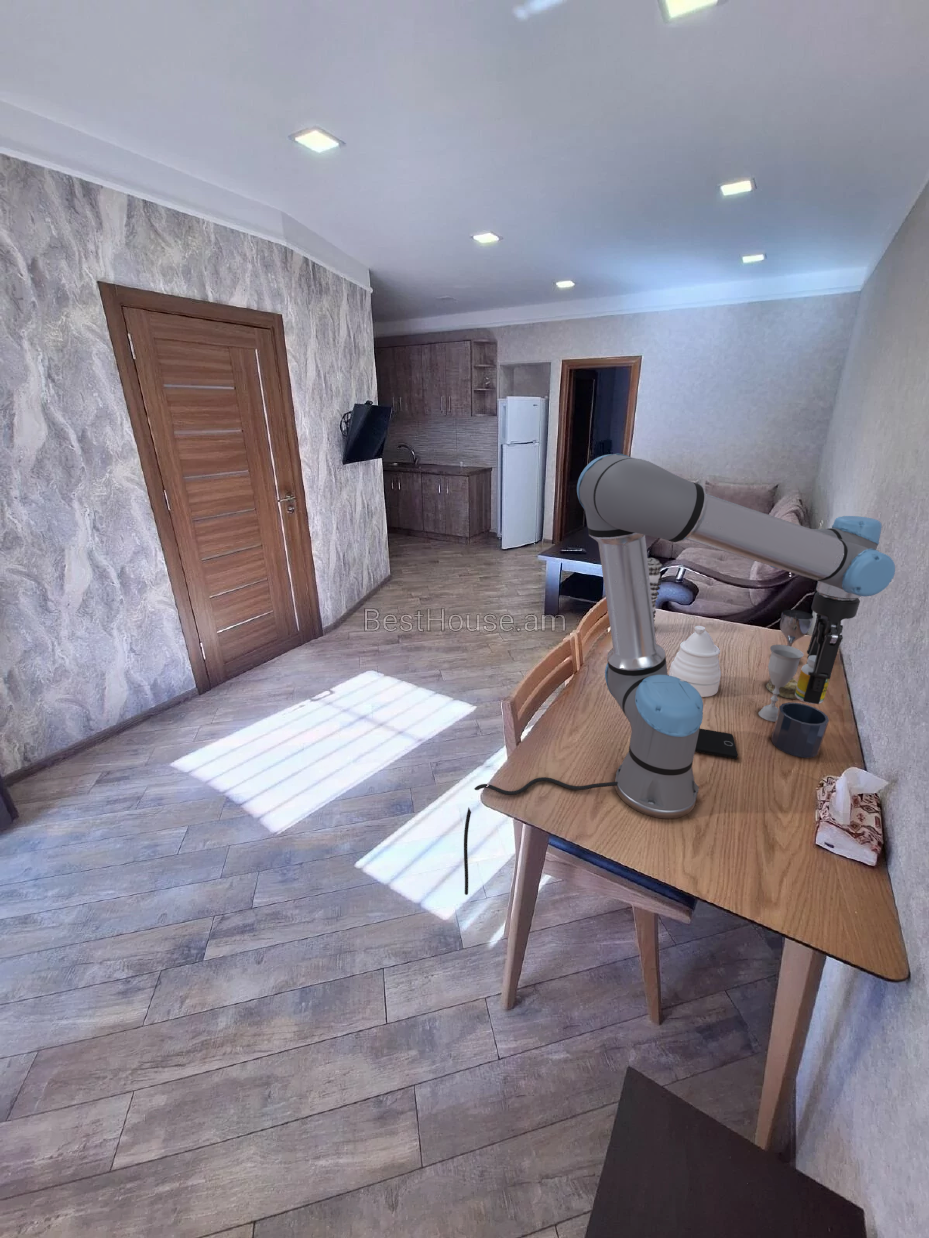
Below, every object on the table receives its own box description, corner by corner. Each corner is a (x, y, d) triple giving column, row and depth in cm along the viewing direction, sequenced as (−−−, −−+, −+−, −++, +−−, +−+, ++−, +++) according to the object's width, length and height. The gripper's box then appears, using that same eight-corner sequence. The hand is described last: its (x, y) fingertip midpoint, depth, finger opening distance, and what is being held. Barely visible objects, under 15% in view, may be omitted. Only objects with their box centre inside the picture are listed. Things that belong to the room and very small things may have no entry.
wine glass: (801, 657, 155) (813, 612, 149) (800, 667, 149) (813, 621, 143) (771, 651, 159) (782, 607, 153) (770, 661, 153) (781, 616, 147)
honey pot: (704, 702, 132) (717, 639, 125) (659, 684, 141) (668, 625, 134) (725, 685, 139) (738, 626, 133) (681, 669, 148) (691, 613, 142)
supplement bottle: (806, 690, 113) (816, 651, 109) (829, 702, 108) (841, 662, 104) (788, 694, 111) (798, 655, 107) (811, 706, 106) (822, 666, 103)
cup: (797, 761, 109) (807, 728, 106) (761, 737, 117) (769, 706, 114) (828, 752, 112) (838, 720, 108) (791, 730, 120) (800, 699, 116)
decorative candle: (636, 620, 184) (644, 554, 174) (659, 628, 177) (669, 559, 168) (621, 627, 178) (629, 559, 169) (645, 635, 172) (655, 564, 162)
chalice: (790, 725, 121) (809, 659, 115) (760, 722, 123) (776, 656, 116) (779, 709, 128) (796, 645, 121) (750, 706, 129) (765, 643, 123)
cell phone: (737, 759, 109) (738, 756, 109) (650, 744, 115) (650, 740, 114) (731, 737, 117) (732, 733, 117) (650, 723, 122) (650, 720, 122)
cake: (792, 705, 131) (795, 687, 129) (757, 688, 139) (760, 671, 137) (817, 693, 134) (821, 676, 132) (781, 678, 143) (785, 661, 141)
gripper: (871, 613, 91) (837, 721, 100) (851, 584, 107) (823, 680, 115) (822, 607, 94) (793, 712, 103) (809, 579, 110) (785, 673, 119)
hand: (809, 695), depth 109 cm, fingers closed on supplement bottle, 5 cm apart
